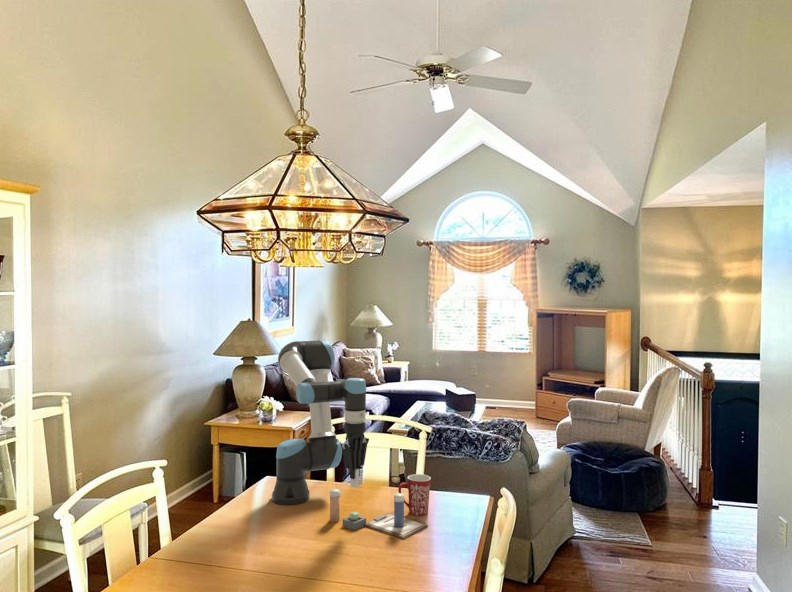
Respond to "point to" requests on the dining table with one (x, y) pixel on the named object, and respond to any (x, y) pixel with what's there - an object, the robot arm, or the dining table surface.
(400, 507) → the blue bottle
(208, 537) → the dining table surface
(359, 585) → the dining table surface
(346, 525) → the button housing
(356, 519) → the button
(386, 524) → the clipboard
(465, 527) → the dining table surface
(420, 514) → the mug
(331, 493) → the pale pink bottle
